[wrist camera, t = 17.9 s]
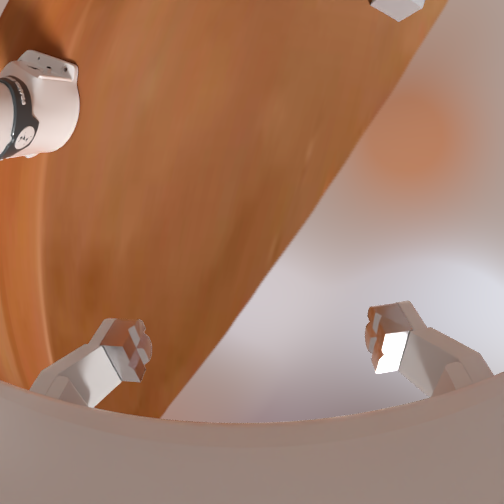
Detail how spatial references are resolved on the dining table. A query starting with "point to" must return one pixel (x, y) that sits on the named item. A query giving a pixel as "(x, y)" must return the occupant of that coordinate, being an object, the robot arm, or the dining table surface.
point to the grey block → (398, 7)
